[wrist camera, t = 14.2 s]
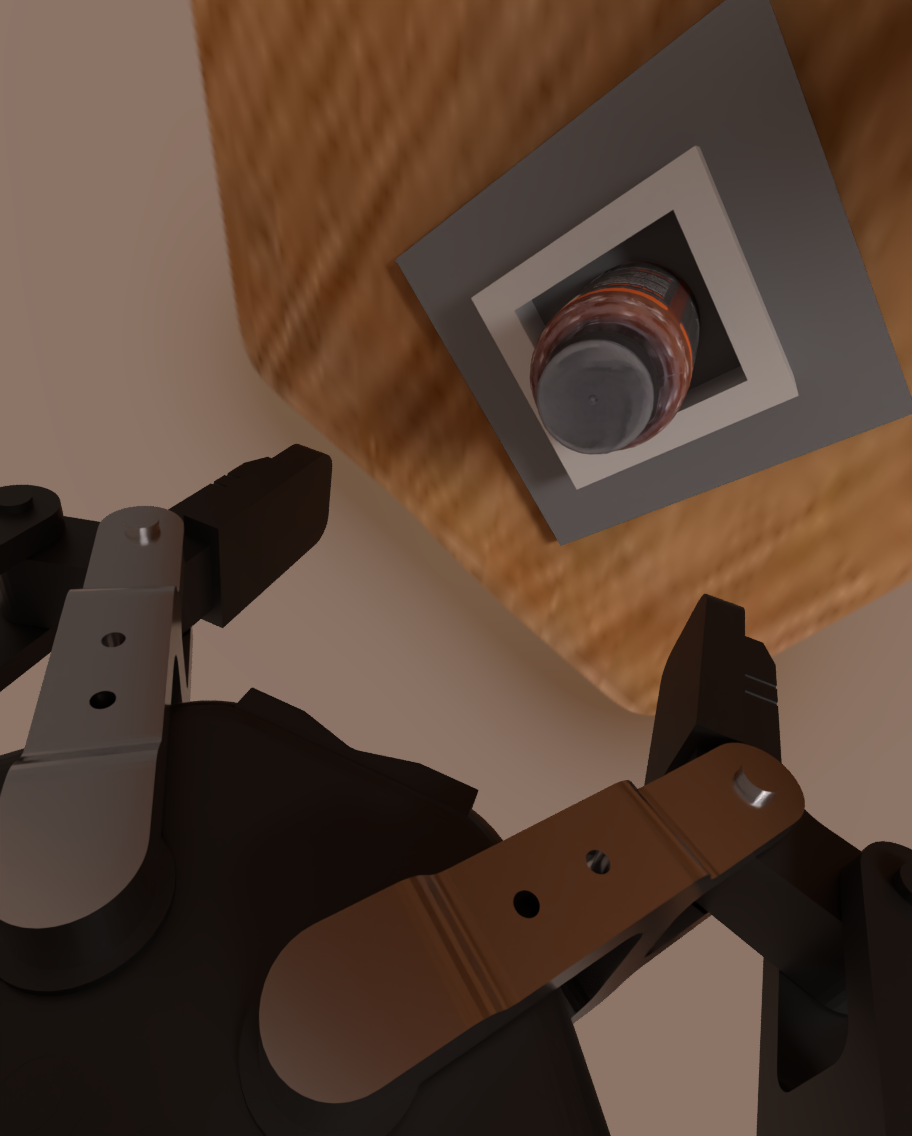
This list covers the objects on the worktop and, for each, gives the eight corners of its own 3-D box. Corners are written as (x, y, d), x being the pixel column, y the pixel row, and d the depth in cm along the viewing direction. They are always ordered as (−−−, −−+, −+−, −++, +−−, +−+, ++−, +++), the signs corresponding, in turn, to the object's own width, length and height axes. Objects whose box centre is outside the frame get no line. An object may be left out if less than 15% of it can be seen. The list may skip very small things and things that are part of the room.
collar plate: (759, -21, 24) (762, -49, 21) (911, 405, 29) (932, 435, 26) (403, 256, 34) (368, 267, 30) (564, 537, 39) (548, 571, 36)
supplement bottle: (558, 285, 31) (484, 336, 22) (687, 238, 28) (663, 275, 19) (590, 404, 33) (535, 495, 24) (712, 372, 30) (703, 461, 21)
